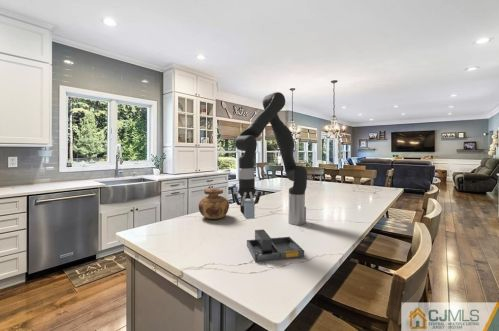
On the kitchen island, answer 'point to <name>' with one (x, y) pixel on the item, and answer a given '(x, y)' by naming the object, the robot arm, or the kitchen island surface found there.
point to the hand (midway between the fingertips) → (247, 212)
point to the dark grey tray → (273, 247)
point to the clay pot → (213, 204)
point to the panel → (249, 209)
